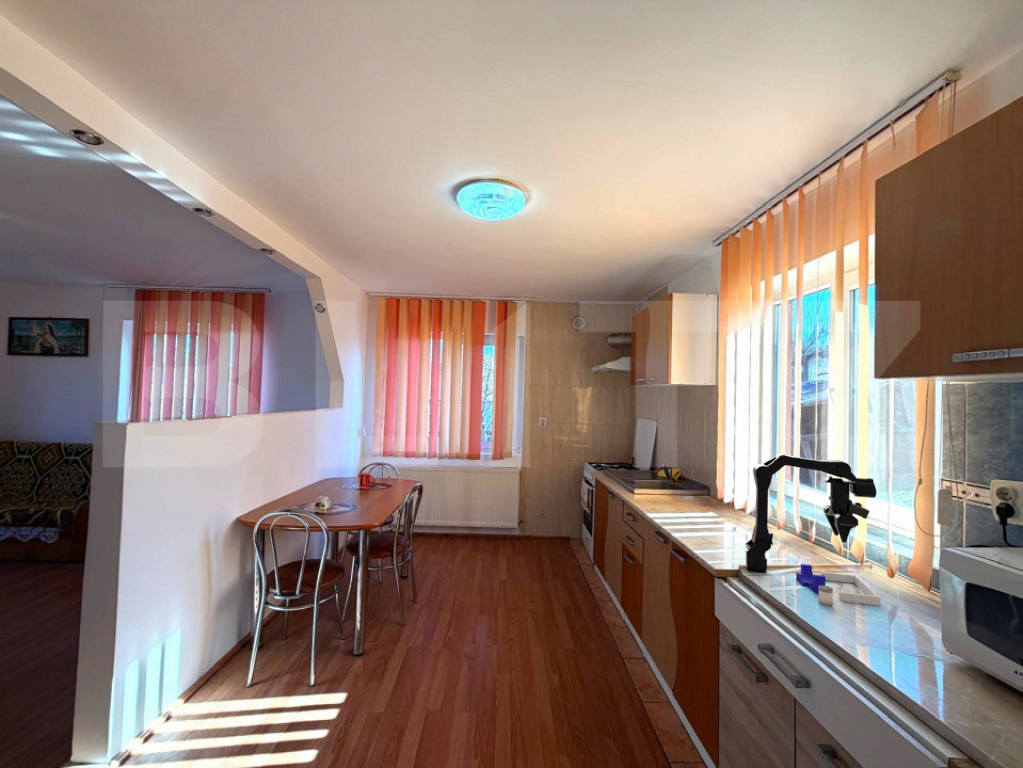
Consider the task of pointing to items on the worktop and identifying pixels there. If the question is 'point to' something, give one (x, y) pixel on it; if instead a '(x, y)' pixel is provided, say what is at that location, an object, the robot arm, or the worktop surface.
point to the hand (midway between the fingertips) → (840, 538)
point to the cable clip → (810, 578)
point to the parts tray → (853, 597)
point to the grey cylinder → (825, 595)
